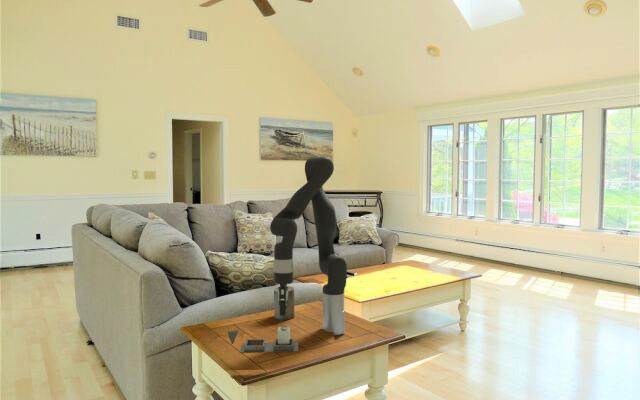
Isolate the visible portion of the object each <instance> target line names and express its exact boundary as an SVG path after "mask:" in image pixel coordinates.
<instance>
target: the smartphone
mask: <svg viewBox="0 0 640 400" xmlns="http://www.w3.org/2000/svg"><path fill="white" fill-rule="evenodd" d="M227 334H228V337H229V339H230V342H231V344H234V343H235V341H236V338H237V336H238V334H239V330H228V332H227Z"/></svg>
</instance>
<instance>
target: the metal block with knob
mask: <svg viewBox="0 0 640 400" xmlns="http://www.w3.org/2000/svg"><path fill="white" fill-rule="evenodd" d="M277 339H278V345H290V339H291V328H290V326H278V327H277Z"/></svg>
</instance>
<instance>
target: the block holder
mask: <svg viewBox="0 0 640 400" xmlns="http://www.w3.org/2000/svg"><path fill="white" fill-rule="evenodd" d="M267 352H268V353H271V352H273V353H274V352H275V353H277V352H280V353H281V352H299V342H298V341H296V342H295V338H290V345H278V338H274V340H273V342H267V339H266V338H254V339H253V338H252V339H251V338H250V339H249V338H248V339H245V342H244V343H241V345H240V349H239V353H267Z"/></svg>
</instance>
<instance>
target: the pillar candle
mask: <svg viewBox="0 0 640 400" xmlns="http://www.w3.org/2000/svg"><path fill="white" fill-rule="evenodd" d="M278 287H279V286H277V287H273V308H274V309H273V311H274V312H273V313H274V316H273V317H274V318H275V319H276V320H279V321H287V320H290V319H293V318H295V288H294V287H293V286H290V285H287V287H289V291H288V297H287V308H286V315H285V316H280V306H279V300H278Z"/></svg>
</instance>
